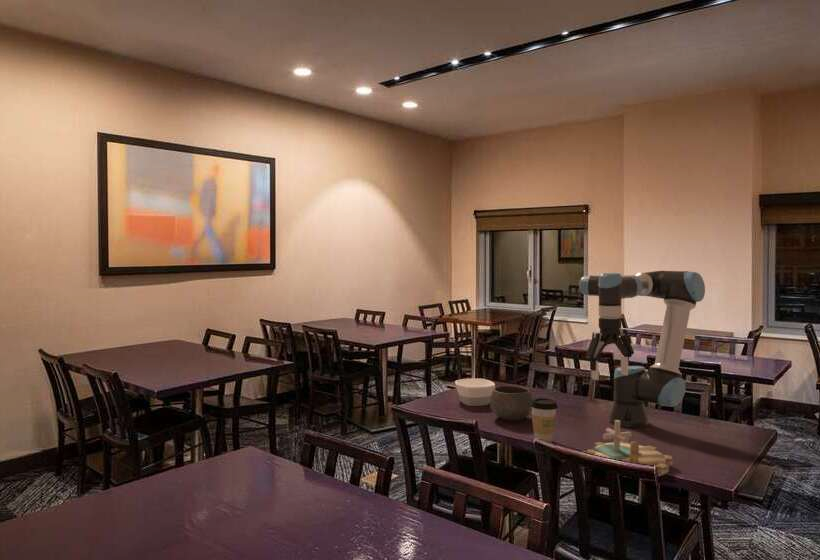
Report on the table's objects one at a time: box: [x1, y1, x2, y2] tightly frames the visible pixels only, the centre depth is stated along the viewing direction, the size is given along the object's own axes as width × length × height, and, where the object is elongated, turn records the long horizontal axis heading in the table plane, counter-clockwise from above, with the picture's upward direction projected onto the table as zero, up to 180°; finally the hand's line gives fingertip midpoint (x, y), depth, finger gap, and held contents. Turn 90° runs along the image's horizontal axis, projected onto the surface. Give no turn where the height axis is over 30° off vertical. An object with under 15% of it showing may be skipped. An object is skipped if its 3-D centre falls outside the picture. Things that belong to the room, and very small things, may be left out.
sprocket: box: [587, 440, 673, 474], centre depth 184 cm, size 26×26×9 cm
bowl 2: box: [489, 385, 534, 422], centre depth 234 cm, size 18×18×13 cm
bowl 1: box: [454, 377, 496, 407], centre depth 259 cm, size 18×18×9 cm
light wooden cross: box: [602, 420, 632, 451], centre depth 187 cm, size 10×10×10 cm
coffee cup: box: [530, 397, 559, 442], centre depth 206 cm, size 10×10×15 cm
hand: (609, 377), depth 197 cm, fingers open, 13 cm apart
